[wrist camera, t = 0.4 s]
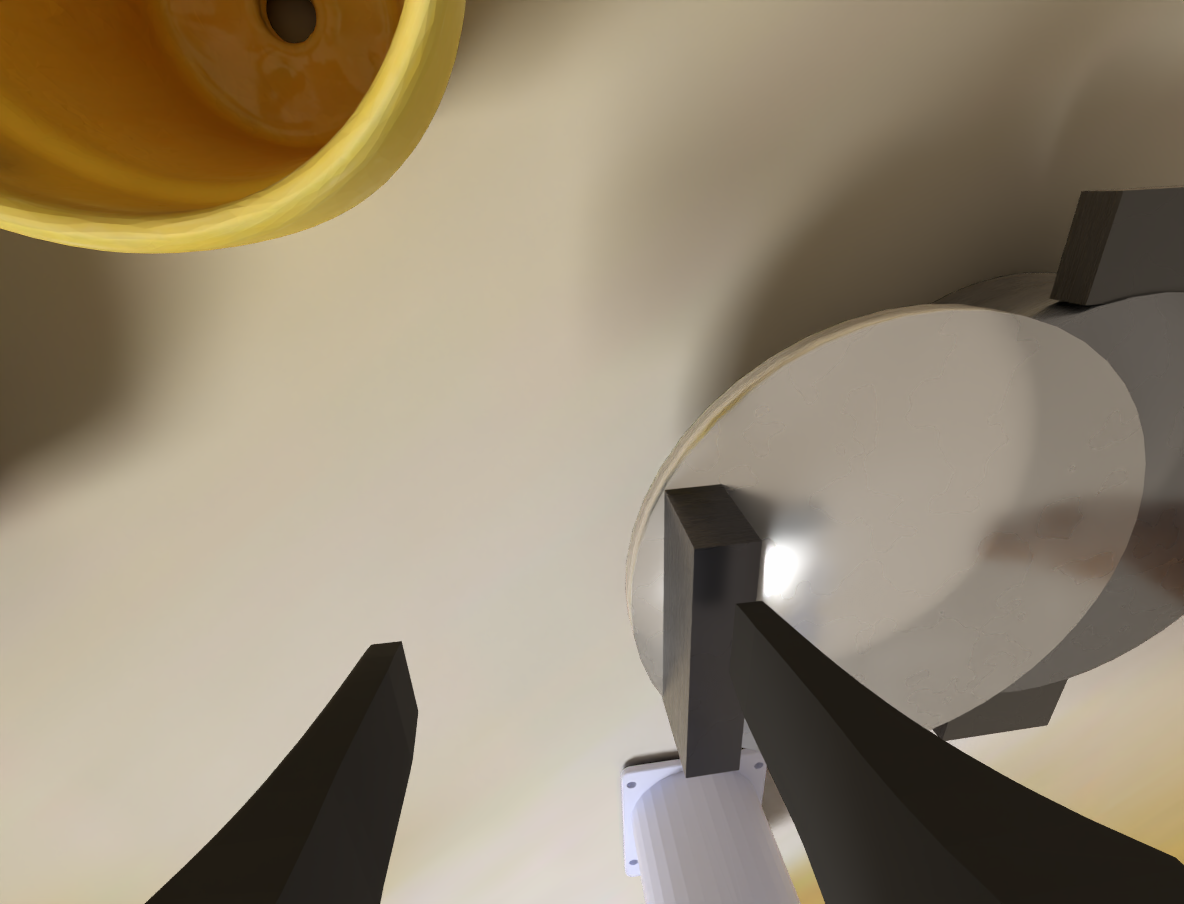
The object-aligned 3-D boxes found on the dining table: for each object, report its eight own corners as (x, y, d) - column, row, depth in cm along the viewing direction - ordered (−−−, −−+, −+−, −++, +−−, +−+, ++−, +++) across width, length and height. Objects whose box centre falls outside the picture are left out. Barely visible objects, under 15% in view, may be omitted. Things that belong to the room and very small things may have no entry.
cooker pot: (1063, 632, 29) (1163, 711, 24) (773, 671, 28) (823, 764, 23) (1252, 177, 20) (1468, 171, 15) (833, 201, 18) (935, 201, 14)
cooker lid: (1027, 701, 22) (1119, 791, 19) (630, 760, 21) (652, 870, 18) (1198, 283, 15) (1393, 307, 12) (617, 327, 14) (650, 369, 10)
